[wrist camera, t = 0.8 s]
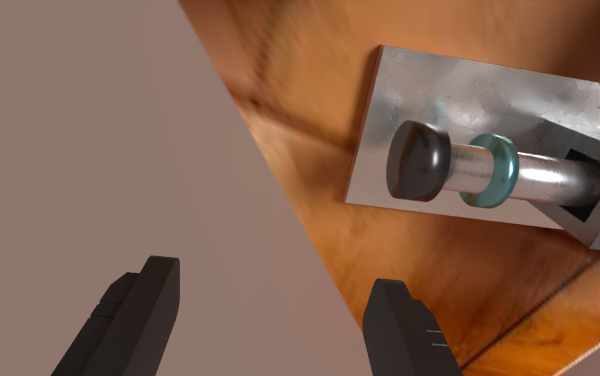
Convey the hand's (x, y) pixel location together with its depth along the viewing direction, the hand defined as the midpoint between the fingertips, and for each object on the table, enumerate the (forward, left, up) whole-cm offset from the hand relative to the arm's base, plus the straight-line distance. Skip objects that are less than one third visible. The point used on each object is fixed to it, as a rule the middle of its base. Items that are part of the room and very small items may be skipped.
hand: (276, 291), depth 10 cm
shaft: (-17, 0, -16) cm, 23 cm away
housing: (-19, 0, -20) cm, 27 cm away
